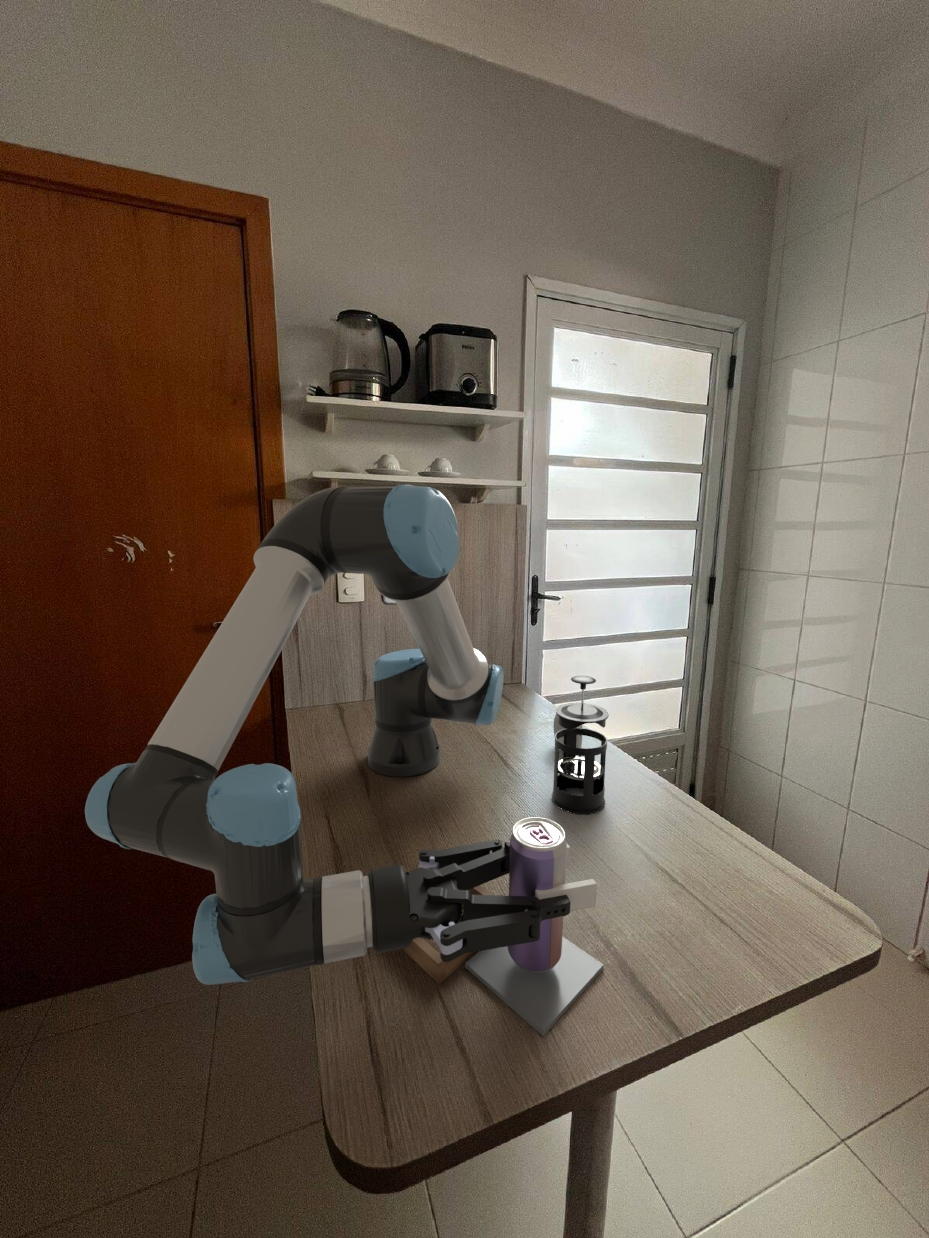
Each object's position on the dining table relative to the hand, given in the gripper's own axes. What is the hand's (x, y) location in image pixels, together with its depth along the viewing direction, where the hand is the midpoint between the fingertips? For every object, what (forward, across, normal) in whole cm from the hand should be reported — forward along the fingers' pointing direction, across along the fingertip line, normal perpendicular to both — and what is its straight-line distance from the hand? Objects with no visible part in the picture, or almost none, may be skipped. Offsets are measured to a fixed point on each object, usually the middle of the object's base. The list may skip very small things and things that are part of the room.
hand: (580, 873), depth 57 cm
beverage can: (-5, 0, -9) cm, 11 cm away
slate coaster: (-5, 0, -11) cm, 12 cm away
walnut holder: (-14, -9, -11) cm, 20 cm away
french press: (+16, -32, -11) cm, 37 cm away
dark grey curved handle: (+22, -49, -11) cm, 55 cm away
